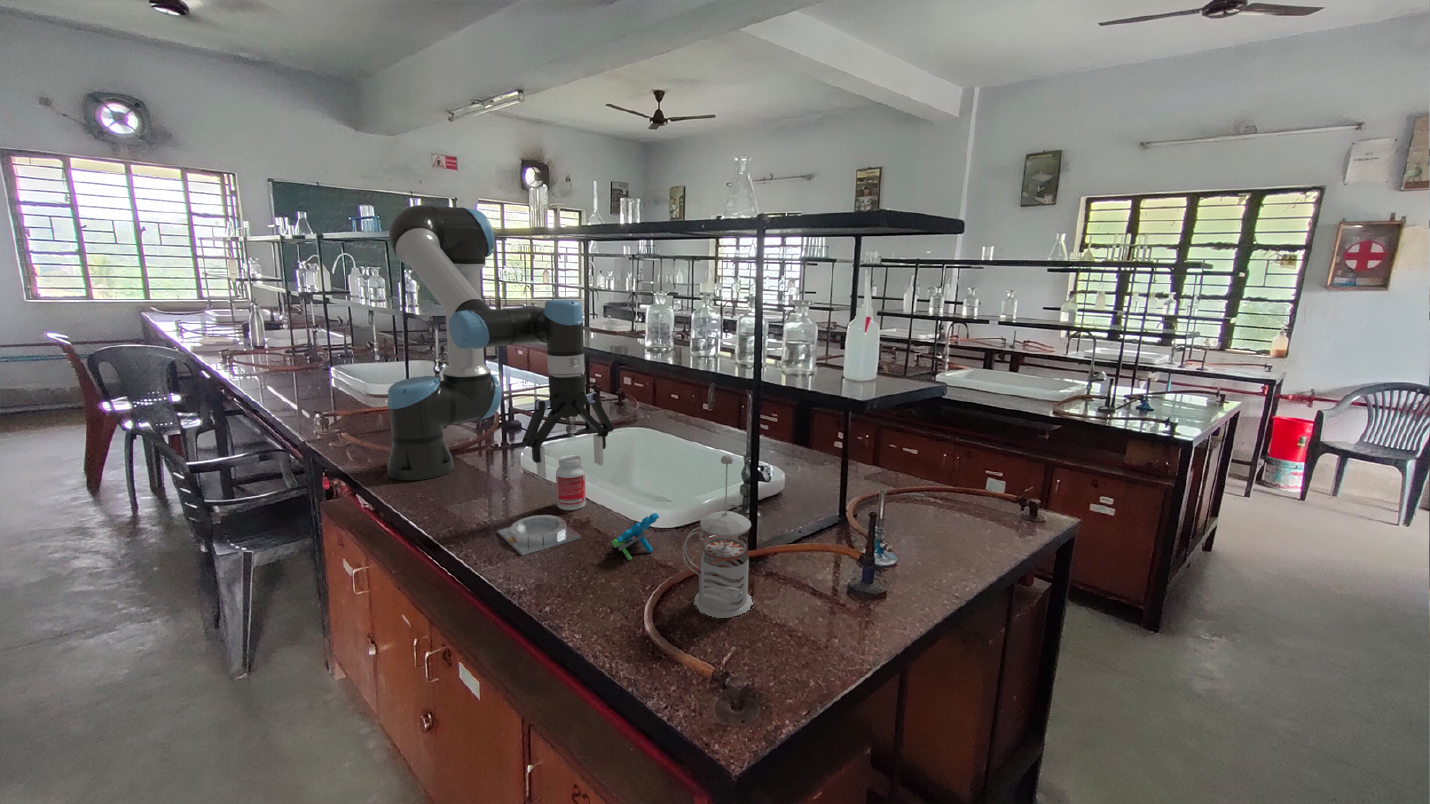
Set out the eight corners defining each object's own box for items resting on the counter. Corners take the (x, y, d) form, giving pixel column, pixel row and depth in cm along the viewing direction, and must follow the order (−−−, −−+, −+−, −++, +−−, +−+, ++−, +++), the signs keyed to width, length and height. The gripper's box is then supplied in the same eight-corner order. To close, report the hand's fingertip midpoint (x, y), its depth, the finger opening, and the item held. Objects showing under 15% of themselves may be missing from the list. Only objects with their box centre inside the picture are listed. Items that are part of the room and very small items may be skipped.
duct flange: (497, 533, 124) (497, 523, 124) (554, 518, 132) (553, 508, 131) (521, 555, 115) (521, 545, 115) (580, 538, 123) (580, 528, 122)
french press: (750, 622, 96) (755, 468, 90) (676, 614, 98) (677, 462, 92) (756, 589, 105) (762, 447, 100) (689, 582, 107) (690, 443, 101)
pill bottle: (589, 507, 138) (588, 459, 135) (563, 513, 134) (561, 464, 132) (579, 498, 143) (577, 452, 140) (553, 503, 139) (551, 456, 137)
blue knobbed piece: (642, 525, 126) (663, 503, 119) (658, 549, 124) (680, 529, 117) (598, 550, 118) (618, 528, 111) (616, 576, 117) (637, 556, 110)
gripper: (516, 383, 121) (522, 487, 126) (627, 370, 137) (629, 462, 141) (501, 377, 127) (508, 477, 132) (609, 365, 142) (612, 454, 147)
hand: (571, 469), depth 136 cm, fingers open, 13 cm apart
